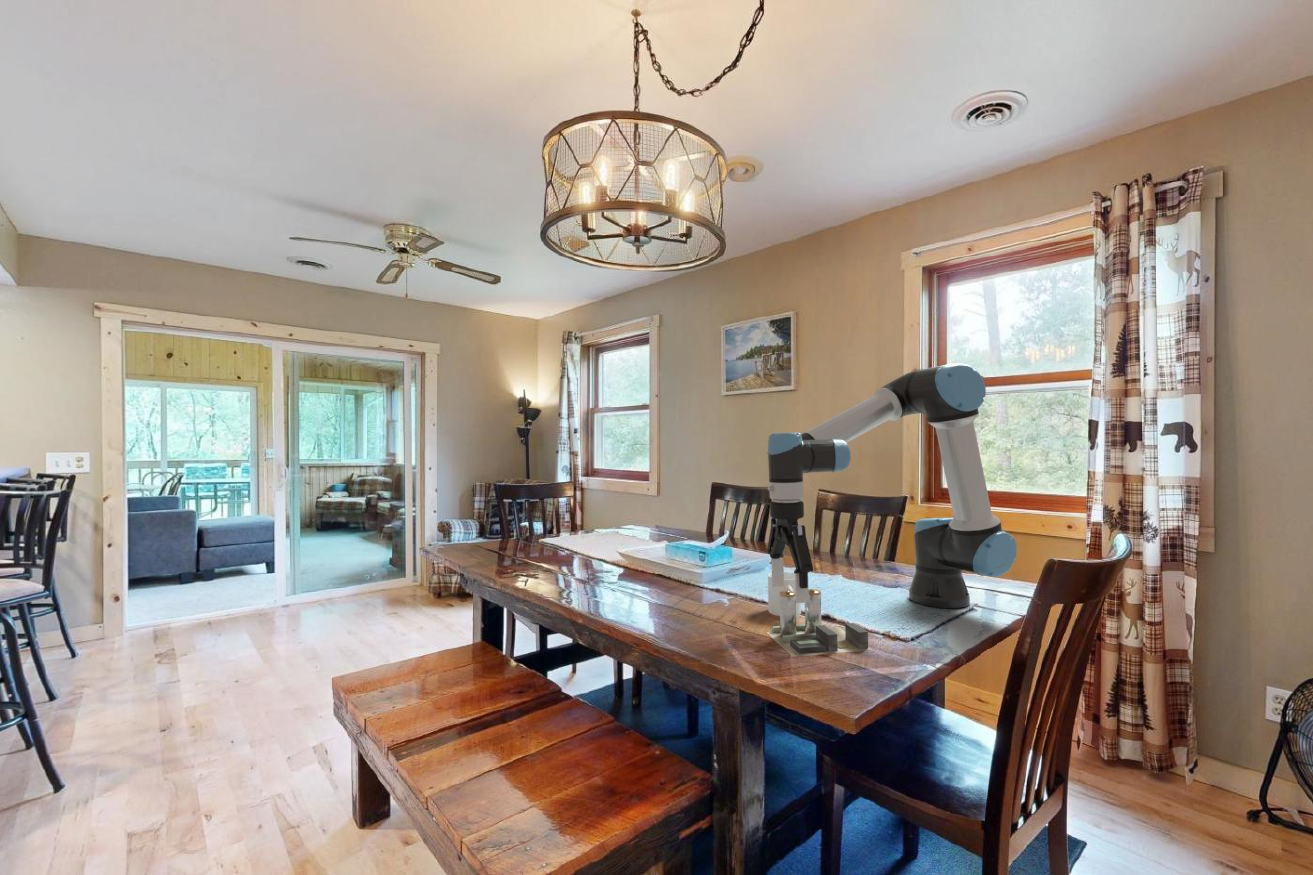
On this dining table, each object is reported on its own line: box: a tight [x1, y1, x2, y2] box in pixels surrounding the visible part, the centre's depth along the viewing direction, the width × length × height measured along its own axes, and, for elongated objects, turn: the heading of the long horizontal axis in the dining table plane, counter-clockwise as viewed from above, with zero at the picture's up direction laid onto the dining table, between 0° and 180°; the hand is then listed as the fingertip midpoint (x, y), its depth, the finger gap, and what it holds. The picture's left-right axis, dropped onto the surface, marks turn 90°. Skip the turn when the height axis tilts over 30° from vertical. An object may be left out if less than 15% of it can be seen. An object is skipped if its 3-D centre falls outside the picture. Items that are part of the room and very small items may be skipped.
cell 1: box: [779, 591, 797, 637], centre depth 128 cm, size 4×4×10 cm
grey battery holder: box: [765, 622, 873, 658], centre depth 125 cm, size 18×15×4 cm
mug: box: [767, 571, 802, 617], centre depth 145 cm, size 12×8×10 cm
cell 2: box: [804, 588, 822, 634], centre depth 129 cm, size 4×4×10 cm
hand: (789, 593), depth 128 cm, fingers open, 13 cm apart
